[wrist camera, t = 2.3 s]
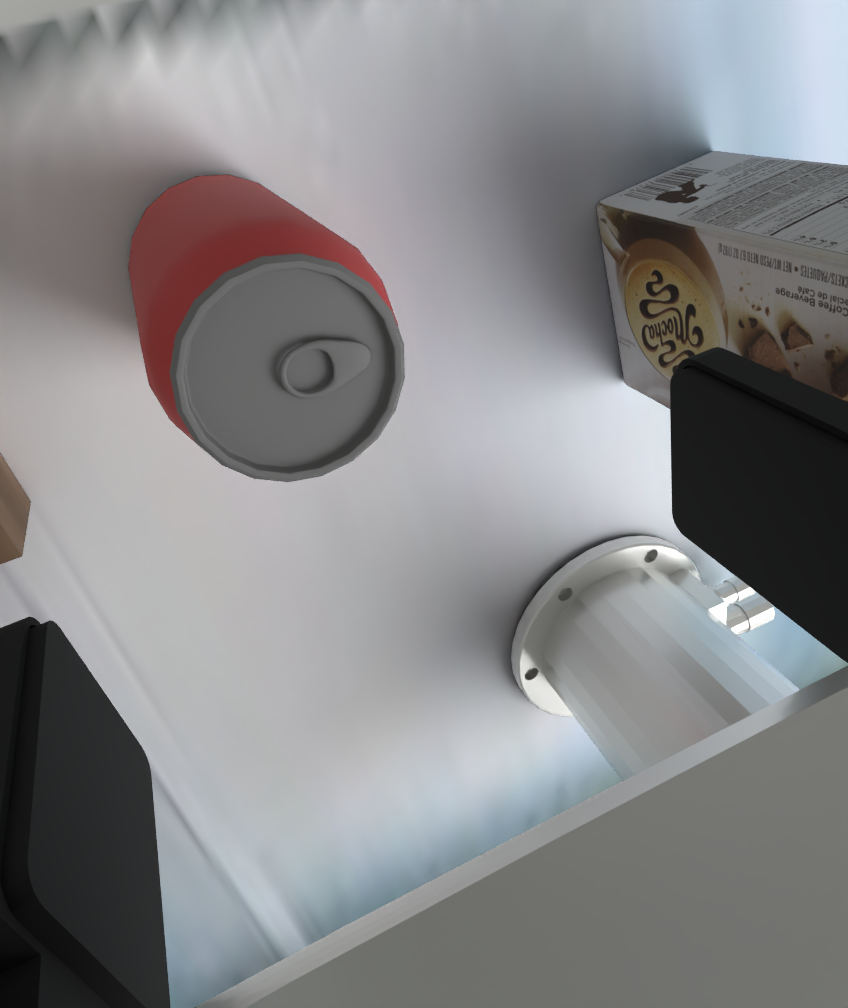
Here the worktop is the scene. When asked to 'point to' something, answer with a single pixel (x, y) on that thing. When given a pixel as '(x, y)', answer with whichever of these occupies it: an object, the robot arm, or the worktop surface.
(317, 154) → the worktop surface
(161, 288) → the beer can
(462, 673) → the worktop surface
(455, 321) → the worktop surface
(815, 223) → the coffee box
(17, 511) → the walnut base
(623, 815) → the robot arm
